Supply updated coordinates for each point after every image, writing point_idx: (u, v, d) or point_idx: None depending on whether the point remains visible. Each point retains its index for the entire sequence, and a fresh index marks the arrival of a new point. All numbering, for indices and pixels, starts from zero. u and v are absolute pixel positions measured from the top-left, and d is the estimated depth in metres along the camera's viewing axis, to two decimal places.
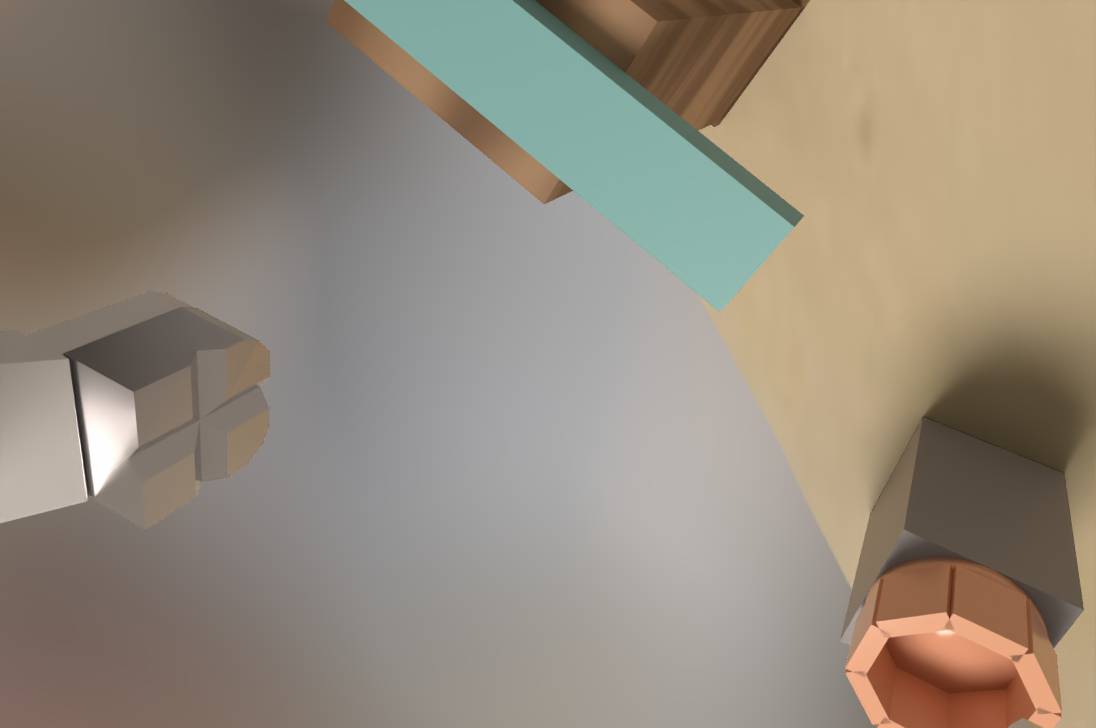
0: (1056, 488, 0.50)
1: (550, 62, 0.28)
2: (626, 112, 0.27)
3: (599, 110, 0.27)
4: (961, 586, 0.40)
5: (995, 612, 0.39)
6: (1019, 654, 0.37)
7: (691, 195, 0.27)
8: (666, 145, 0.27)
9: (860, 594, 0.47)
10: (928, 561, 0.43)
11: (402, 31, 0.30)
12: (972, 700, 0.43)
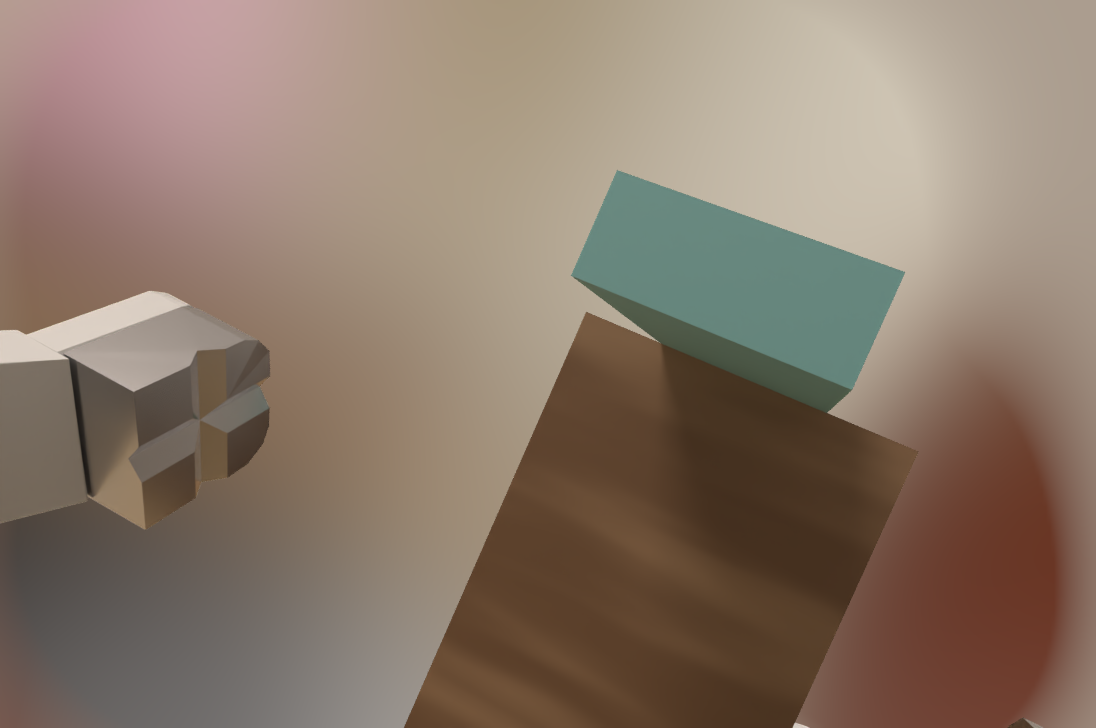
0: None
1: None
2: None
3: None
4: None
5: None
6: None
7: None
8: None
9: None
10: None
11: None
12: None
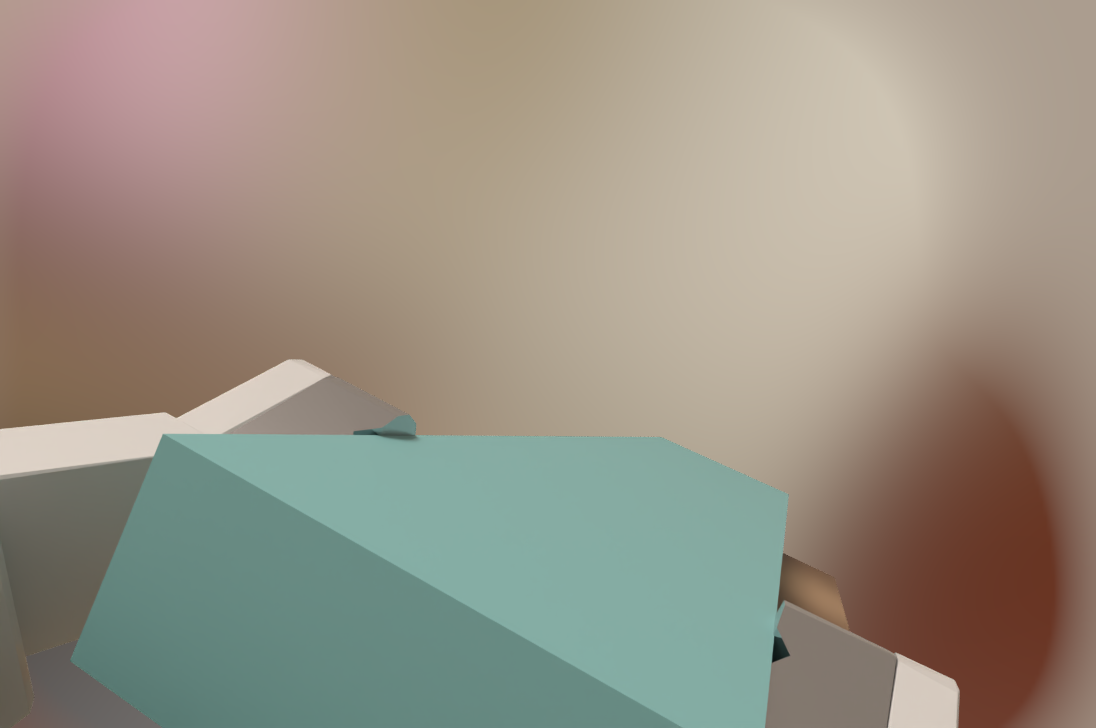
0: None
1: (737, 512, 0.14)
2: (742, 544, 0.11)
3: (710, 519, 0.11)
4: None
5: None
6: None
7: (634, 550, 0.07)
8: (730, 563, 0.09)
9: None
10: None
11: (653, 446, 0.20)
12: None
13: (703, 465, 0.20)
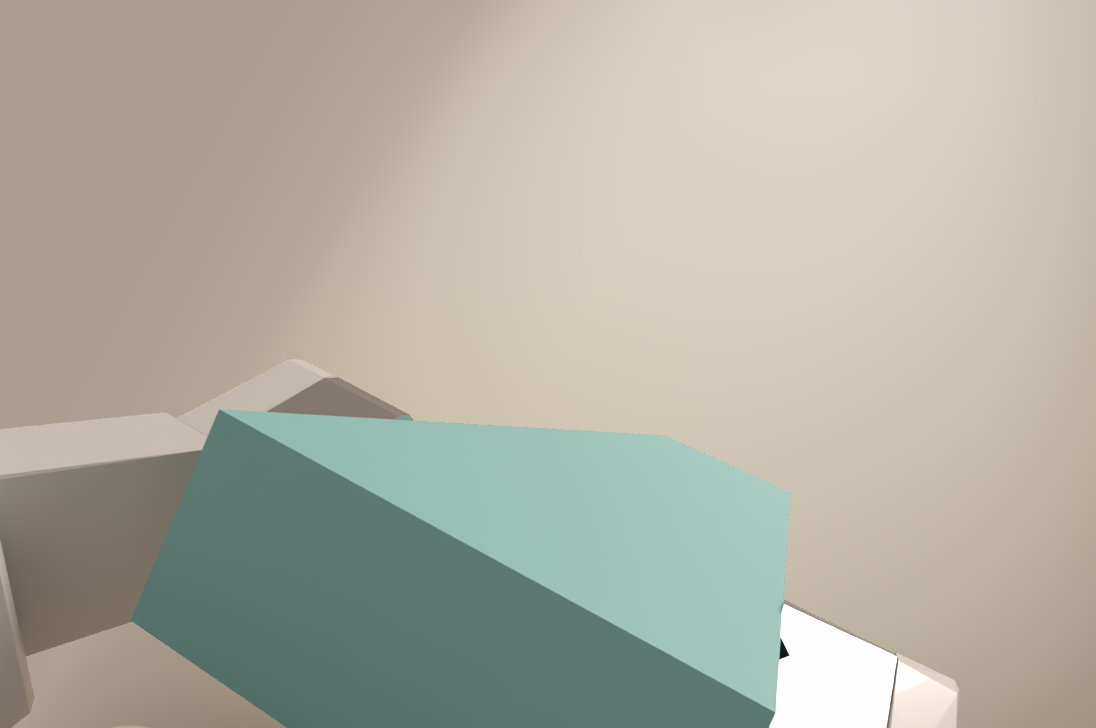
0: None
1: (742, 504, 0.14)
2: (748, 532, 0.11)
3: (717, 510, 0.12)
4: None
5: None
6: None
7: (649, 532, 0.08)
8: (738, 547, 0.09)
9: None
10: None
11: (658, 443, 0.20)
12: None
13: (707, 462, 0.21)
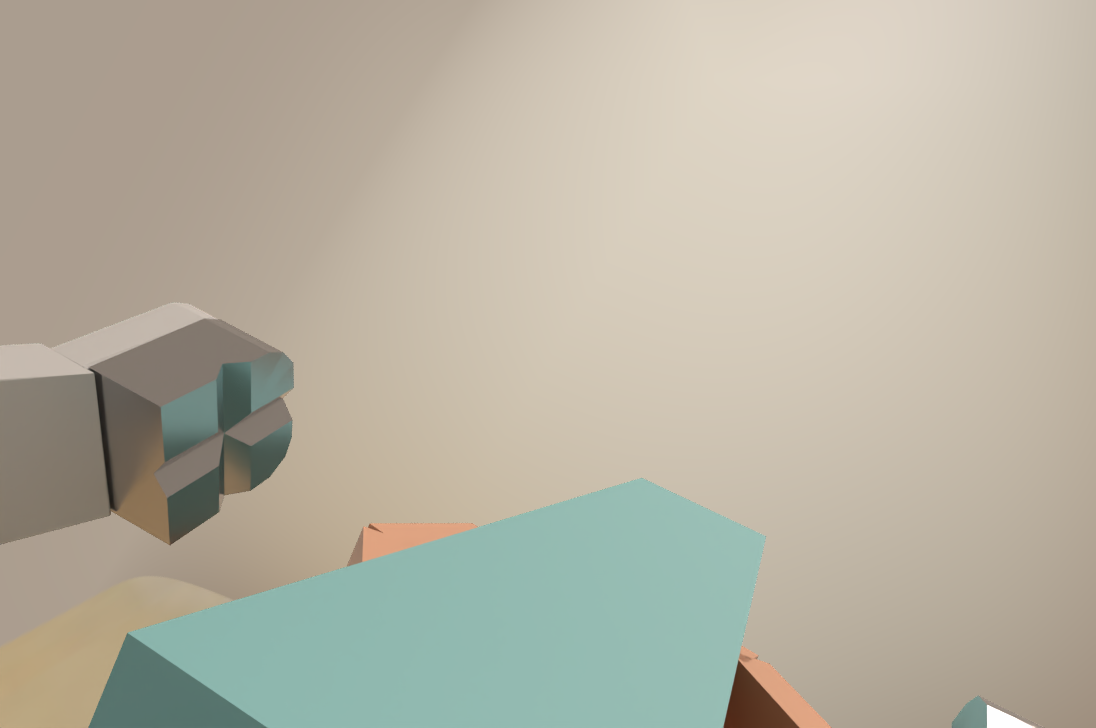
0: None
1: (705, 584, 0.14)
2: (701, 637, 0.11)
3: (674, 606, 0.12)
4: None
5: None
6: None
7: (586, 682, 0.08)
8: (684, 674, 0.09)
9: None
10: None
11: (630, 496, 0.20)
12: None
13: (680, 513, 0.21)
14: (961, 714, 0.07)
